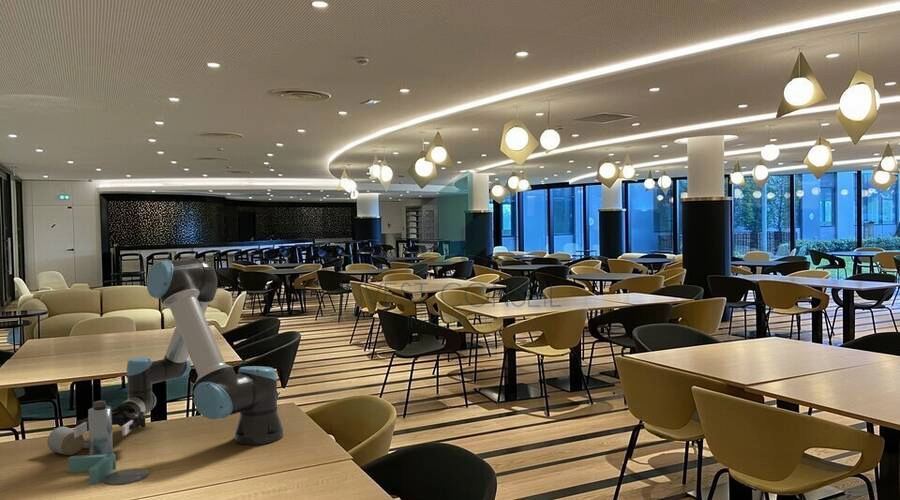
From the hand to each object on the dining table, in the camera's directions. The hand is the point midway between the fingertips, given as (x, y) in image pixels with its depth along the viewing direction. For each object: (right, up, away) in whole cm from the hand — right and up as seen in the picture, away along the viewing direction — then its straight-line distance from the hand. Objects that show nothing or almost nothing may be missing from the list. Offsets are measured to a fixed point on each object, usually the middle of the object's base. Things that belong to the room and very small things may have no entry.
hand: (99, 432), depth 192 cm
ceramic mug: (-14, -9, +10) cm, 20 cm away
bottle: (+1, -9, 0) cm, 9 cm away
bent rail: (+2, -9, -11) cm, 15 cm away
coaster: (+14, -9, -12) cm, 21 cm away
